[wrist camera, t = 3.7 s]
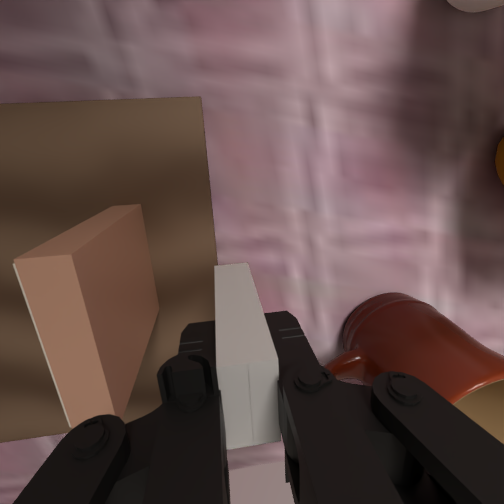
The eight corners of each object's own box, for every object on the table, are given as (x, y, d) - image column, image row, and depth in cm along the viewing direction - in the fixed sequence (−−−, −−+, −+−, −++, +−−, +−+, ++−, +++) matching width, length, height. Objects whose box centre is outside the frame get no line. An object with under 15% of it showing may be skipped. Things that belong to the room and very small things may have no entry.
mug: (440, 275, 23) (605, 363, 13) (420, 366, 26) (544, 493, 16) (291, 284, 22) (355, 390, 12) (287, 379, 24) (336, 528, 15)
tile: (108, 206, 17) (5, 260, 8) (140, 203, 17) (70, 254, 9) (131, 311, 19) (68, 436, 11) (159, 308, 19) (119, 428, 11)
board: (-152, 113, 15) (-181, 110, 14) (201, 100, 17) (200, 96, 16) (-5, 430, 22) (-16, 445, 21) (230, 396, 24) (231, 408, 23)
